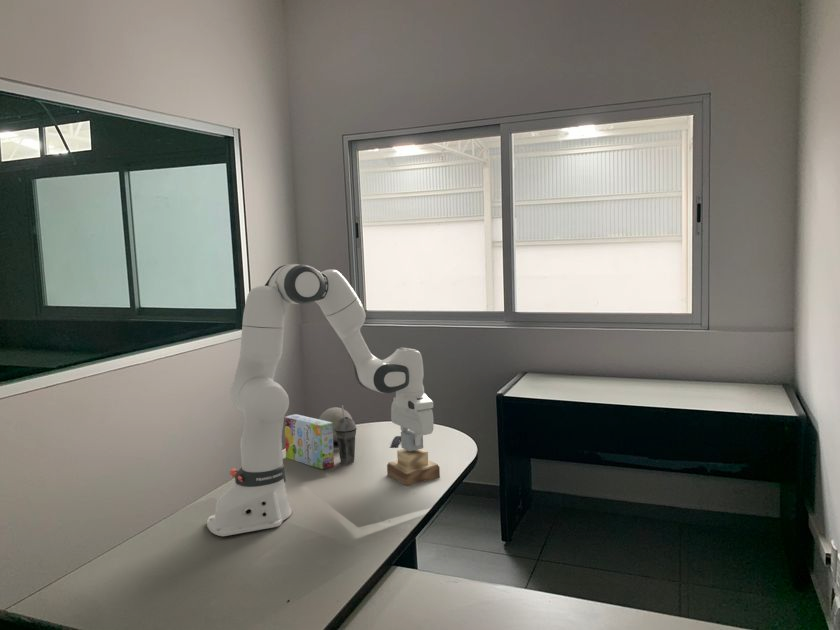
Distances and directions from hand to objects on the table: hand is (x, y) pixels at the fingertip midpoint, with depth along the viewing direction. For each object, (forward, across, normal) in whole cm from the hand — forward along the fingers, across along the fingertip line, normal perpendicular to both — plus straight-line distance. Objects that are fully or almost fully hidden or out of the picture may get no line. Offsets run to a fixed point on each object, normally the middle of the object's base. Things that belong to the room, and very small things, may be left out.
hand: (411, 442), depth 195 cm
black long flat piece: (+12, -32, +13) cm, 37 cm away
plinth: (+11, 0, 0) cm, 11 cm away
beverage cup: (+11, -25, -11) cm, 29 cm away
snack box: (+11, -34, -21) cm, 41 cm away
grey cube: (+2, 0, 0) cm, 2 cm away
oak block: (+7, 0, 0) cm, 7 cm away
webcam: (+11, -43, -7) cm, 45 cm away
